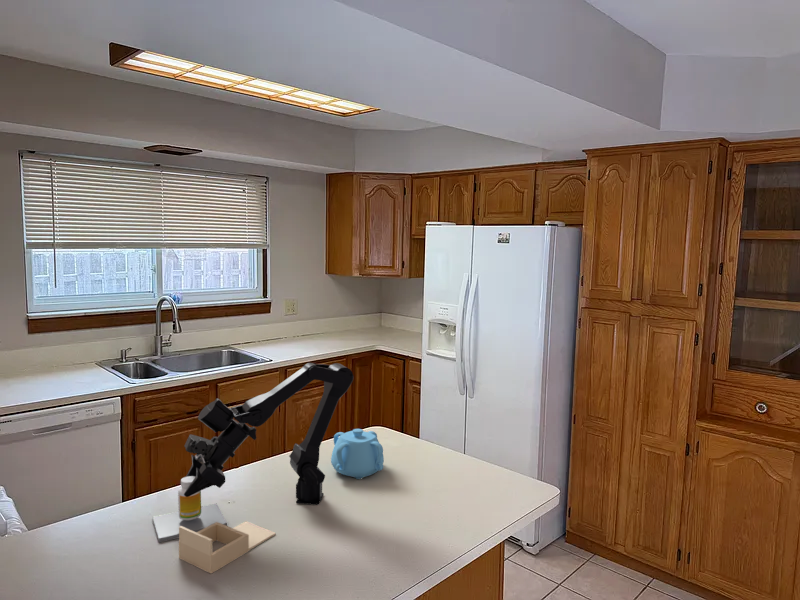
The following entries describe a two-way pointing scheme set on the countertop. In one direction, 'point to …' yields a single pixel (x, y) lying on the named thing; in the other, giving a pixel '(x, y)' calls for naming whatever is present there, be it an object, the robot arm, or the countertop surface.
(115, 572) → the countertop surface
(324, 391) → the robot arm
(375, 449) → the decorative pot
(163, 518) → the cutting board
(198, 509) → the supplement bottle
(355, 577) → the countertop surface
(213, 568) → the carton
